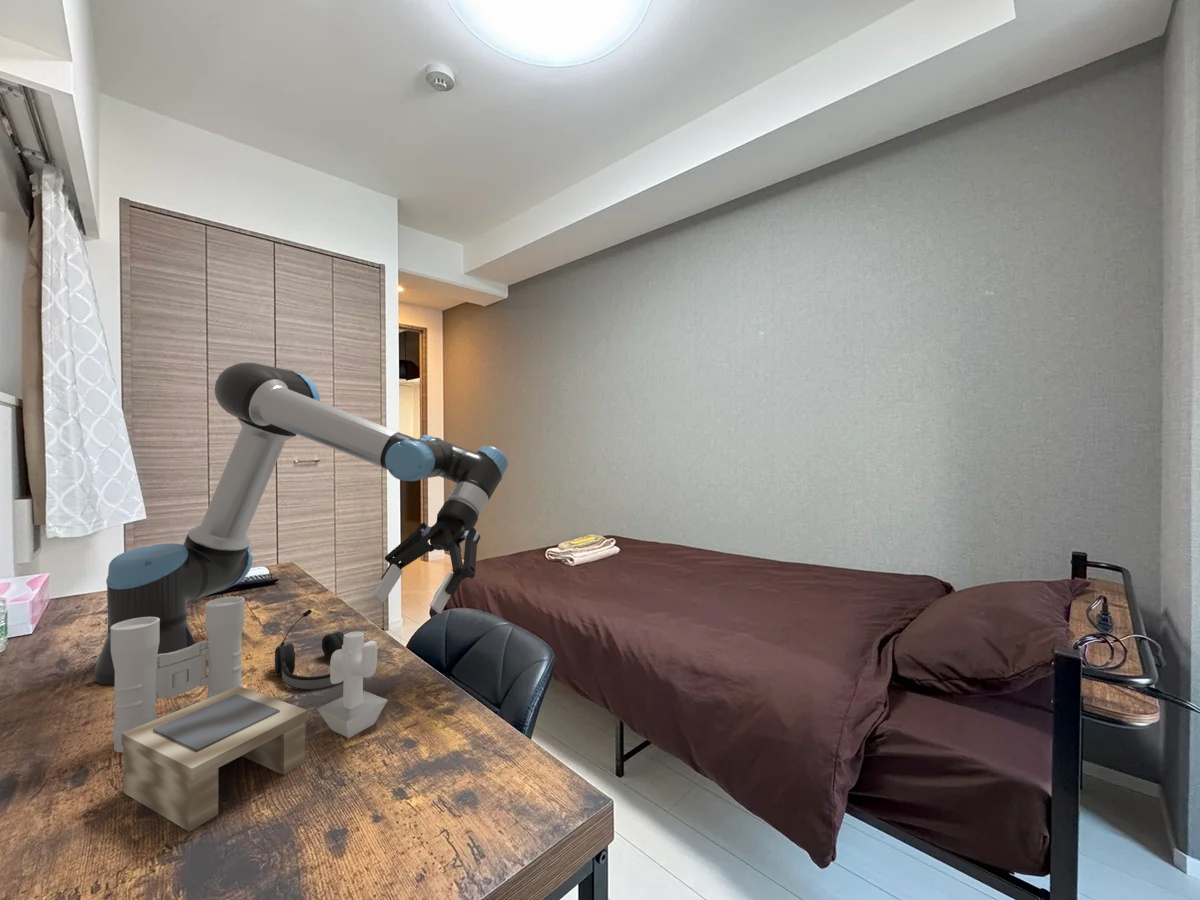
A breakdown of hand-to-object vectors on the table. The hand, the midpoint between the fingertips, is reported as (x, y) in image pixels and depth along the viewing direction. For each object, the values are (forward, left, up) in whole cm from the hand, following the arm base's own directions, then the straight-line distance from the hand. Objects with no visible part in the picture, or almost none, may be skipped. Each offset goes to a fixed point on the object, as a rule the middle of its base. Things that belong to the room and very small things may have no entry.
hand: (405, 604), depth 89 cm
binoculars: (-25, -22, -17) cm, 37 cm away
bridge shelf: (-6, -27, -17) cm, 32 cm away
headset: (-24, 0, -17) cm, 29 cm away
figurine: (0, -11, -17) cm, 20 cm away
